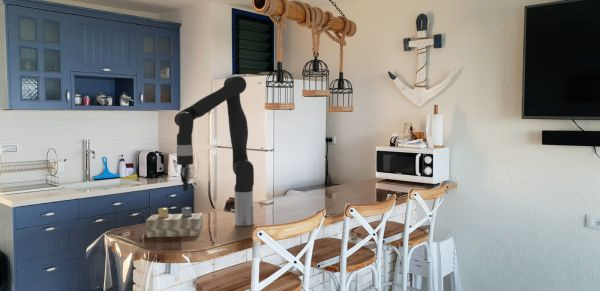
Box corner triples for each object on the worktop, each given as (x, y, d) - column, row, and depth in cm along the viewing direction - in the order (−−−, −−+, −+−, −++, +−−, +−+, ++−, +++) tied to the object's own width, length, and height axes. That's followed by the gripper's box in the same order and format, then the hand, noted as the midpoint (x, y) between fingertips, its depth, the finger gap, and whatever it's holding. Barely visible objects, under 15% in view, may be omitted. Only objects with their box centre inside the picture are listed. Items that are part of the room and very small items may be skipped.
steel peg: (192, 221, 231) (191, 207, 230) (190, 223, 226) (190, 208, 226) (183, 221, 230) (182, 207, 230) (181, 223, 226) (180, 209, 225)
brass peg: (169, 222, 230) (168, 207, 229) (167, 224, 226) (166, 209, 225) (159, 222, 230) (159, 207, 229) (157, 224, 225) (157, 209, 225)
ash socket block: (202, 229, 235) (202, 213, 234) (199, 235, 223) (198, 218, 222) (153, 230, 234) (152, 214, 233) (146, 237, 222) (146, 220, 221)
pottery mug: (220, 209, 283) (225, 197, 286) (235, 215, 287) (239, 202, 290) (227, 208, 273) (232, 194, 276) (242, 214, 276) (246, 200, 279)
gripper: (190, 155, 219) (191, 192, 221) (195, 152, 233) (196, 188, 234) (174, 155, 219) (175, 193, 220) (179, 153, 232) (180, 188, 233)
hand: (185, 190), depth 227 cm, fingers closed
